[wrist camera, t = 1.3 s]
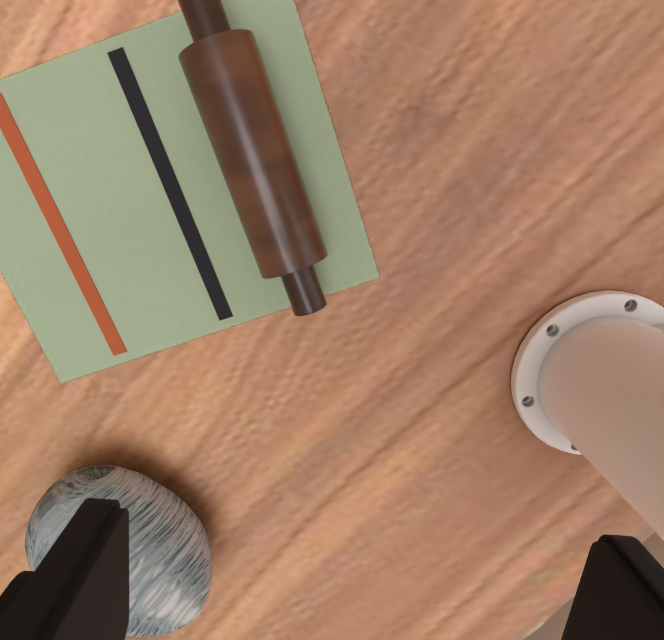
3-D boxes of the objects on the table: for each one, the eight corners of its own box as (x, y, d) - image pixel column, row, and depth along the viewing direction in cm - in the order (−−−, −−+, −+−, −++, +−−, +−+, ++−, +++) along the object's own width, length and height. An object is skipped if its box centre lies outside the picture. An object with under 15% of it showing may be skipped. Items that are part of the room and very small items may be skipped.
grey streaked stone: (-11, 524, 35) (-23, 615, 26) (91, 418, 37) (110, 470, 29) (136, 601, 41) (164, 694, 33) (214, 506, 44) (260, 570, 35)
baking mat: (285, -28, 28) (285, -30, 28) (379, 276, 34) (380, 277, 33) (-84, 112, 30) (-88, 111, 30) (62, 382, 35) (60, 384, 35)
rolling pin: (239, -13, 28) (225, -46, 24) (341, 290, 34) (344, 307, 29) (168, 14, 28) (143, -14, 24) (281, 310, 34) (276, 330, 30)
